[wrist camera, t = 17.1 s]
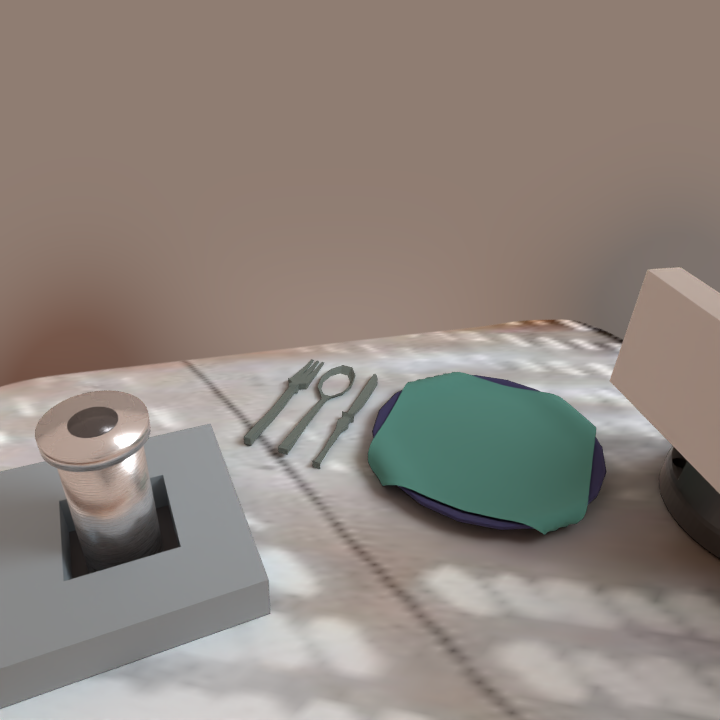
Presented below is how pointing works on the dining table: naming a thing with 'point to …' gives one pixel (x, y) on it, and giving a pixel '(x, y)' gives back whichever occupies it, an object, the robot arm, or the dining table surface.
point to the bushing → (104, 474)
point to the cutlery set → (472, 448)
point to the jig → (122, 571)
